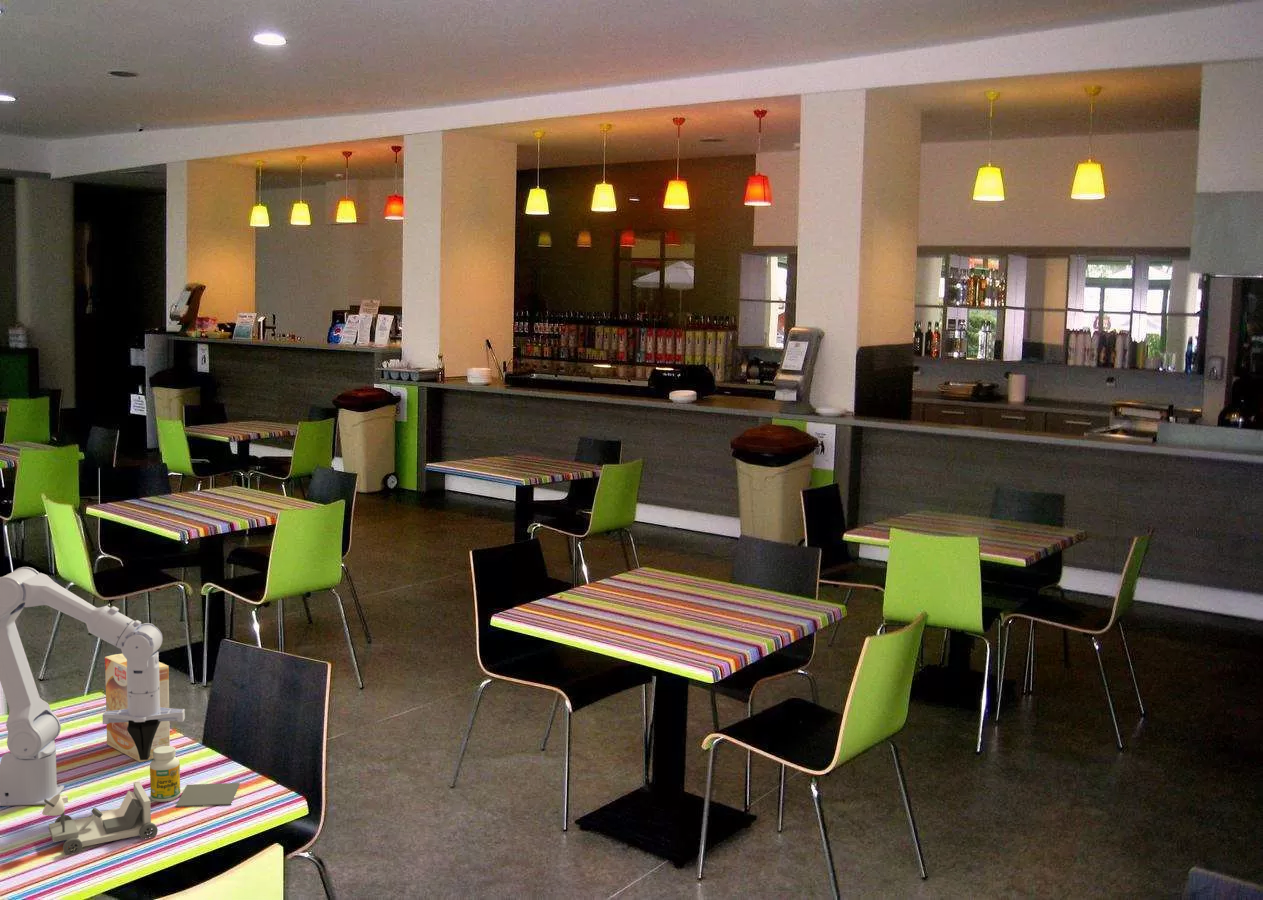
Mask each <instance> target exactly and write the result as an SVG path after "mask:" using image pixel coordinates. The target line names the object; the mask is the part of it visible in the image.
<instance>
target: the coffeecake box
mask: <svg viewBox="0 0 1263 900" xmlns="http://www.w3.org/2000/svg"><path fill="white" fill-rule="evenodd" d="M104 666H105V667H104V669H105V671H104V673H105V675H104V678H105V708H106V709H105V711H114V710H122V709H128V700H127V659H126V658H125V657H124V655H123V654H122V653H118V654H117V653H116V654H111V655H106V656H105V657H104ZM169 666H170V665H167V664H165V663H164V662H160V661H159V682H160V707H162V708H170V685H169V684H170V680H169V679H170V677H169V673H170V672H169ZM127 727H128V722H118V723H109V724H106V745H107V746H109V747H111V748H113V749H115V750H117V751H119V752H120V753H122V754H124V755H126V756H128V757H130V758H132V759H133V760H135V761H136V762H139V763H143V762H148V761H151V760H154V757H153V750H154V749H156V748H158V747H161V746H171V743H170V742H171V739H170V737H171V736H170V734H171V733H170V731H171V730H170V727H171V726H170V721H161V722H160V724H159V726H158V728H157V731H156V733H155V736H154V739H153V742H152V746H151V751H150V757H149V758H148V760H140V757H139V753H138V750H137V747H136V745H135V742H134V740H133V739H132V737H131V735H130V734H129V733H128V731H127Z"/></svg>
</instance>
